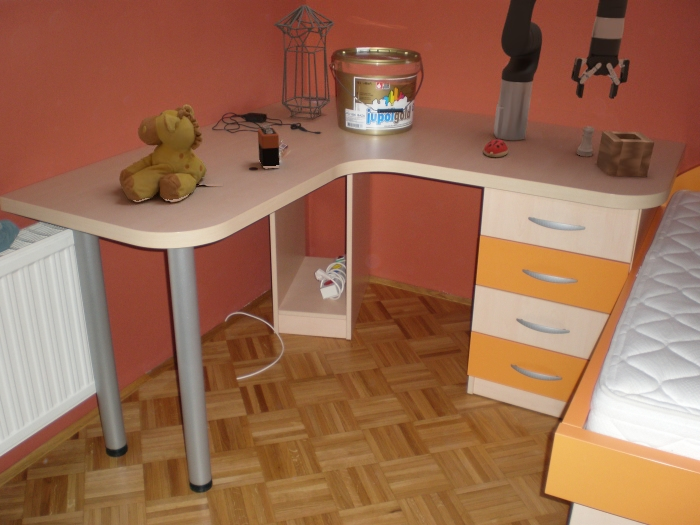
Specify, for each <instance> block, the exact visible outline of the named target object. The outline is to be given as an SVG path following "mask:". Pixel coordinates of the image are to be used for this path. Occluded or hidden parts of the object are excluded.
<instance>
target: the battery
mask: <svg viewBox="0 0 700 525" xmlns="http://www.w3.org/2000/svg"><path fill="white" fill-rule="evenodd" d="M279 136H280V135H279V134H278V132H277V131H276V130H275V128H274V127H272V126H271V125H269V124H268V125H263V126H262V128H258V129H257V139H258V160H260V162H261V164H262V165H263V166H276V165H280V140H279V139H280V137H279ZM260 162H259V163H260ZM261 164H260V165H261ZM262 165H261V166H262Z"/></svg>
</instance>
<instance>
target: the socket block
mask: <svg viewBox="0 0 700 525" xmlns="http://www.w3.org/2000/svg"><path fill="white" fill-rule="evenodd" d="M599 142H600V143H599V147H598V152H597V157H596V158H597V159H596V162H595V164H596V163H597V164H596V165H597V166H598V167H599V168H600V169H601V170H602V172H603V173H605V174H606V175H607V176H619V177H621V176H622V177H647V176H648V173H649V172H648V171H649V168H650V163H651V159H652V154H653V150H654V146H655V141H653V140H652V139H650V138H649V137H648V136H646V135H645V134H644V133H643V132H641V131H617V130H615V131H614V130H613V131H612V130H602V132H601V136H600V141H599Z"/></svg>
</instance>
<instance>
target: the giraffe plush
mask: <svg viewBox="0 0 700 525" xmlns="http://www.w3.org/2000/svg"><path fill="white" fill-rule="evenodd" d="M200 129H201V126H200V124H199V121H198V120H197V118H196V117H195V111H194V109H193V107H192V106H191V105H190V104H186V103H185V104H183V105H182V106H181V107H180V106H177V107H176V108H175V110H174V109H167V110H164V111H163V112H161V113H160V114H158V115H152V116H151V115H150V116H148V117H145V118H143V119H142V120H141V123H140V124H139V126H138V130H137V134H138V138H139V140H141V141H142V142H143V143H145V145H147V146H152V147H154V146H156V147H155V148H154V150H153V152H151V153H149V154H148V155H146V156H144V157H141V159H139V160H138V161H135V162H133V163H132V164H130V165H129V166H127V167H125V168H124V169H122V170H121V171H120V173H119V178H118V179H119V185H120V187H121V188H122V190H123V193H124V194H125V196H126V197H127V198H128V200H130V199H131V200H136V201H139V200H142V199H145V198H151V197H152V198H154V197H155V196H156V195H157V193H159V196H160V198H161V197H162V198H164V199H167V200H168V199H169V200H173V199H179V198H181V197H184V196H186V195H188V194H190V193H191V192H192V191H193V192H194V191H195V189H196V187H197V185H196V184H197V183H198V184H199V182H200V181H201V179H203V178H204V177H205V176H206V173H207V170H208V168H207V167H206V165H205V163H204V162H203V160H201V159H200V158H199V156H198V155H197V154H196V153H195V152H194V151H196V149H198V148H200V146H201V144H202V143H203V134H202V132H201V131H200ZM202 177H203V178H202ZM193 192H192V193H193ZM192 193H191V194H192ZM154 195H155V196H154ZM153 196H154V197H153ZM152 198H151V199H152ZM162 198H161V199H162ZM131 200H130V201H131Z"/></svg>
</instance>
